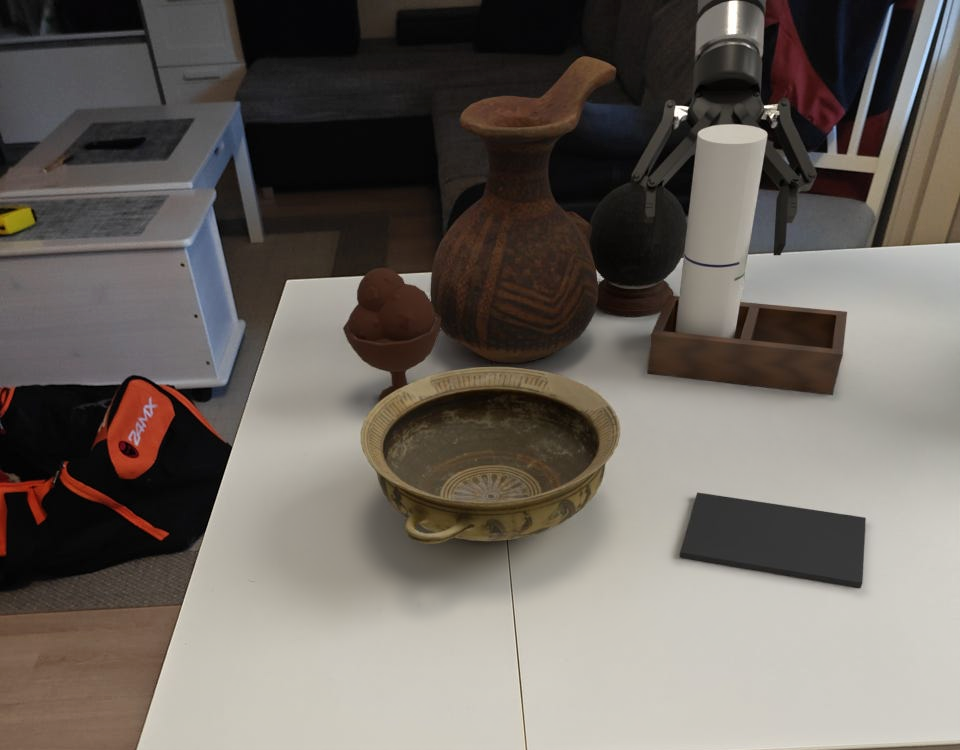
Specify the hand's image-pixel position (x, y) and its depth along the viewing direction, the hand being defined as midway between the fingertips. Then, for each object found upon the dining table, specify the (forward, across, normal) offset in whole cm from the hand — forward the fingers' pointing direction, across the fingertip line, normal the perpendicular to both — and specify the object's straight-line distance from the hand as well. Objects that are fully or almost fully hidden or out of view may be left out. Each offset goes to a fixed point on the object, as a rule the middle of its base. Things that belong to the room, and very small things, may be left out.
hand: (717, 250), depth 99 cm
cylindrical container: (+9, 0, -11) cm, 14 cm away
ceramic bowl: (+33, +22, +13) cm, 42 cm away
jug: (+6, +24, -14) cm, 28 cm away
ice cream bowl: (+17, +36, -2) cm, 40 cm away
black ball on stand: (-3, +8, -23) cm, 25 cm away
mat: (+34, -5, +15) cm, 38 cm away
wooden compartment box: (+9, -5, -10) cm, 15 cm away
